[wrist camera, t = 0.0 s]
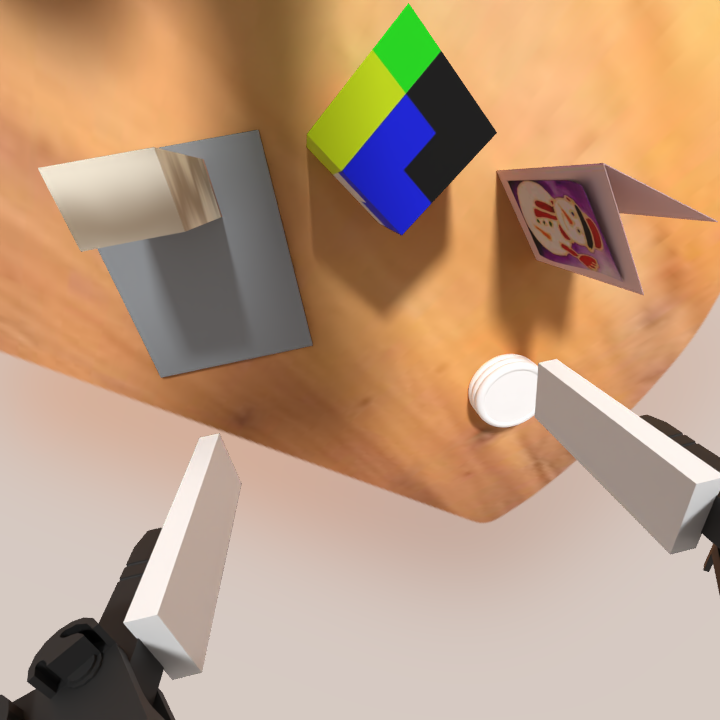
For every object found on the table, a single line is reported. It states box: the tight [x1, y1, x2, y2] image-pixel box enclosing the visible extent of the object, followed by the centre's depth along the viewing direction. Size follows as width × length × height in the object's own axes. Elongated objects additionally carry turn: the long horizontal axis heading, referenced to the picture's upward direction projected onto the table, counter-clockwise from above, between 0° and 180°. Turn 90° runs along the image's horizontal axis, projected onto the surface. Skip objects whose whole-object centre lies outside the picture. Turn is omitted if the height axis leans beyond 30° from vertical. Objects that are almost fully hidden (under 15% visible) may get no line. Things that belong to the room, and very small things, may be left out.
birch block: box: [38, 147, 222, 252], centre depth 28 cm, size 5×7×12 cm
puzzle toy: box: [306, 3, 497, 235], centre depth 30 cm, size 10×10×10 cm
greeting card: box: [497, 163, 718, 295], centre depth 33 cm, size 11×7×15 cm, turn 36°
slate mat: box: [97, 130, 313, 378], centre depth 37 cm, size 22×18×1 cm
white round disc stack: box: [468, 354, 538, 427], centre depth 48 cm, size 10×10×4 cm
